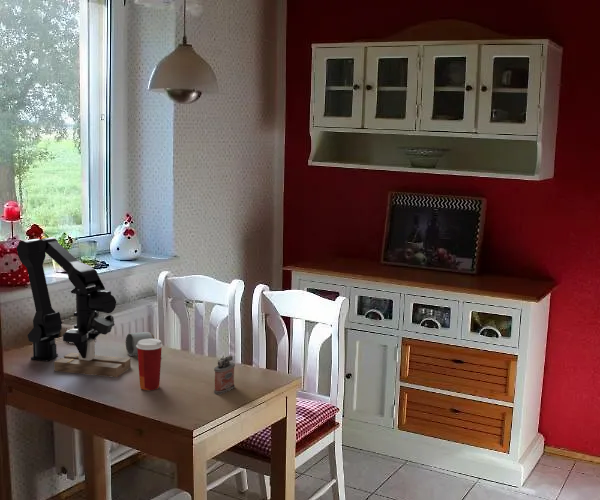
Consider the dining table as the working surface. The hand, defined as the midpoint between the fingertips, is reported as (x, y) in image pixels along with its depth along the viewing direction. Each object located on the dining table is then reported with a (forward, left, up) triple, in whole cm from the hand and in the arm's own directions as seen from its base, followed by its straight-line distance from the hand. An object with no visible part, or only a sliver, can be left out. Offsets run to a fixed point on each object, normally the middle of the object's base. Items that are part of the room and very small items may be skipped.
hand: (86, 356), depth 236 cm
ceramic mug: (+8, +20, -4) cm, 22 cm away
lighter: (+48, -6, -4) cm, 48 cm away
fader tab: (0, 0, -2) cm, 2 cm away
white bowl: (-17, +28, -4) cm, 33 cm away
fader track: (+2, 0, -4) cm, 5 cm away
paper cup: (+26, -10, -4) cm, 28 cm away
